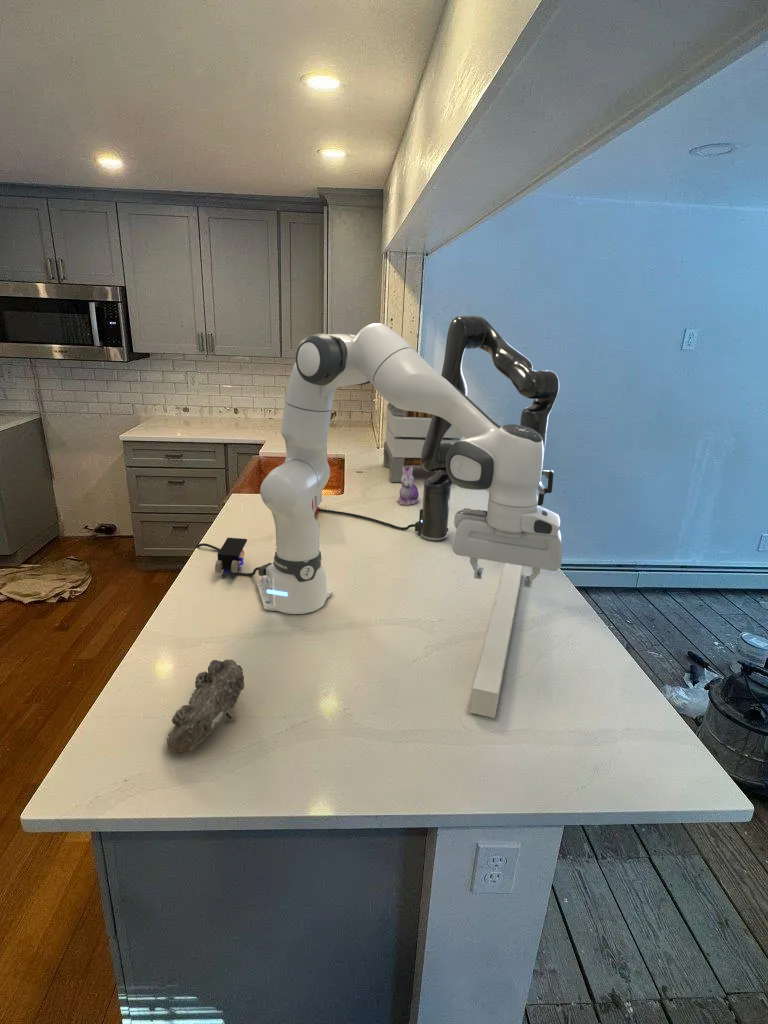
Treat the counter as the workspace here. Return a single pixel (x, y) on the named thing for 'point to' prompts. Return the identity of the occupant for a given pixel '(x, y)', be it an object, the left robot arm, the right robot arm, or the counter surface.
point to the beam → (496, 644)
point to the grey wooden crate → (408, 439)
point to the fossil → (206, 705)
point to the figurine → (408, 488)
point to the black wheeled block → (230, 556)
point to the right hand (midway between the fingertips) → (522, 503)
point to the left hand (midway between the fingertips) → (502, 581)
